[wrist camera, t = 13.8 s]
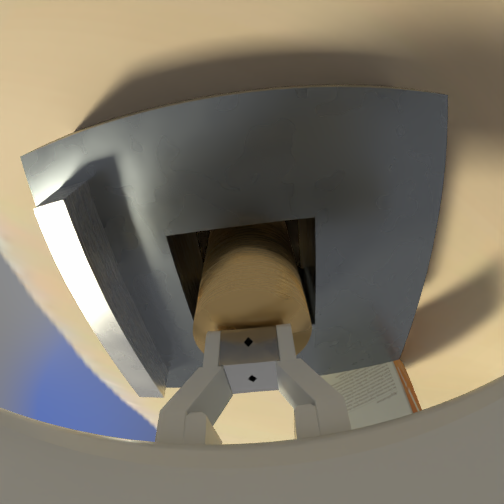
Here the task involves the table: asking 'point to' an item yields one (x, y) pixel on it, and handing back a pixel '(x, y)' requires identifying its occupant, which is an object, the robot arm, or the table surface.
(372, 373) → the small box
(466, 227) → the table surface
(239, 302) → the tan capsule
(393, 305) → the jig
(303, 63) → the table surface
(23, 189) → the table surface
